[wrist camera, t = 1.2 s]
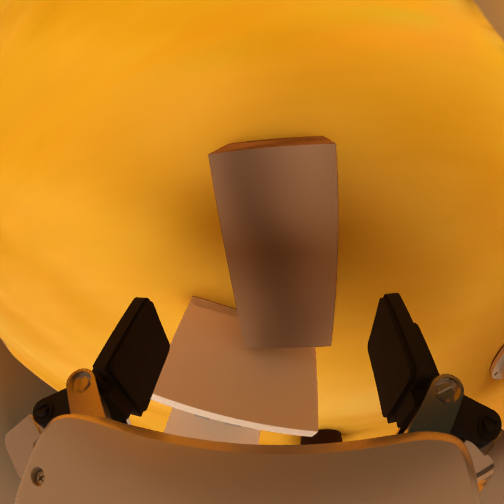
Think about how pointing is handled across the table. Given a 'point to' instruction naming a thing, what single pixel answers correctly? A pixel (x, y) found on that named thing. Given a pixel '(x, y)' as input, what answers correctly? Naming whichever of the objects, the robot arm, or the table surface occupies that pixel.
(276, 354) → the cradle
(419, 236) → the table surface
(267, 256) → the brown rectangular block
